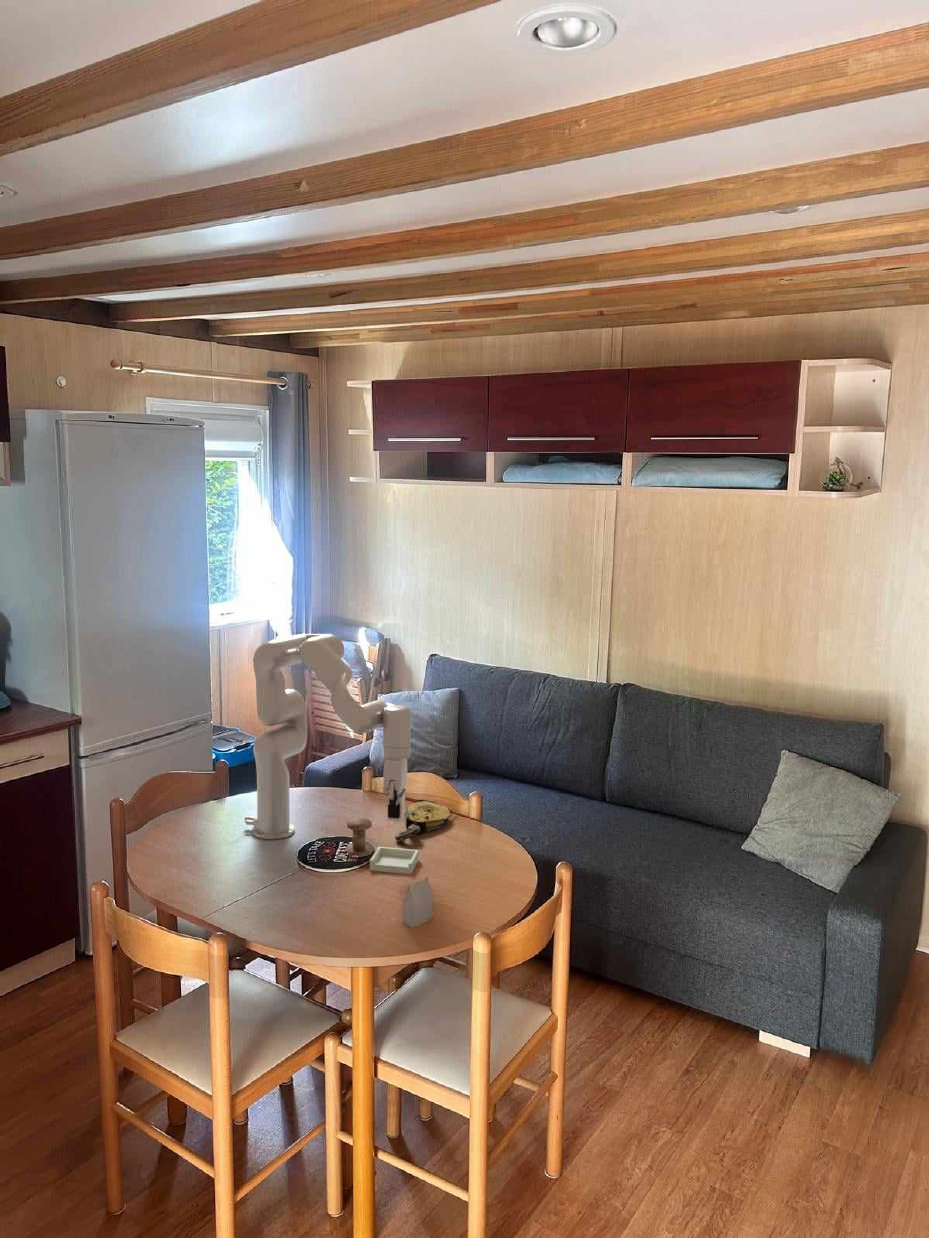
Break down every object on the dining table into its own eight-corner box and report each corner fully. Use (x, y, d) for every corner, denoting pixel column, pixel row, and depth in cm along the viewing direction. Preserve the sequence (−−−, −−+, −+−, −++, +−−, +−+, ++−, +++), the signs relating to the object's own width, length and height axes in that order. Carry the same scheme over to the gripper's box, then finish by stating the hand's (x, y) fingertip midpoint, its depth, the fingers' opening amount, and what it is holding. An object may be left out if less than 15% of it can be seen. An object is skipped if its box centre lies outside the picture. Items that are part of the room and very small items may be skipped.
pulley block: (380, 821, 278) (420, 790, 306) (377, 839, 280) (417, 807, 307) (424, 835, 274) (460, 803, 302) (420, 854, 275) (457, 820, 303)
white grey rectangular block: (386, 820, 259) (387, 792, 258) (390, 815, 263) (390, 787, 262) (401, 821, 259) (402, 793, 257) (405, 816, 263) (405, 788, 262)
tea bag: (432, 917, 233) (433, 879, 231) (413, 927, 228) (414, 888, 226) (421, 913, 235) (422, 875, 234) (402, 922, 230) (403, 883, 229)
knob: (341, 856, 268) (341, 826, 267) (349, 845, 276) (349, 816, 274) (368, 858, 267) (369, 828, 265) (375, 848, 275) (376, 818, 273)
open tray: (369, 870, 259) (370, 859, 259) (378, 856, 269) (378, 846, 268) (411, 874, 258) (411, 863, 257) (418, 860, 267) (418, 850, 267)
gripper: (390, 741, 267) (389, 803, 270) (375, 758, 250) (375, 824, 253) (416, 743, 266) (415, 805, 268) (403, 760, 249) (402, 826, 252)
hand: (395, 814), depth 261 cm, fingers closed on white grey rectangular block, 4 cm apart
